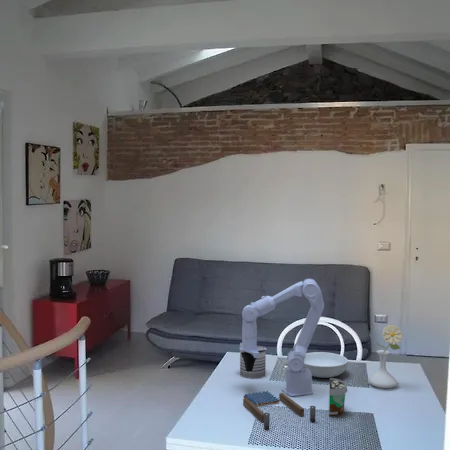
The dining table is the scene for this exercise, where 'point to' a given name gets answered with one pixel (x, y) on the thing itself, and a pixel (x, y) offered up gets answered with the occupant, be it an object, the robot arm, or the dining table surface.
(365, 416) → the dining table surface
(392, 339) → the flower in vase
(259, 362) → the can
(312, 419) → the posts
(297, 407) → the walled channel
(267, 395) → the woven mat
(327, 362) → the serving bowl
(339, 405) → the food container
